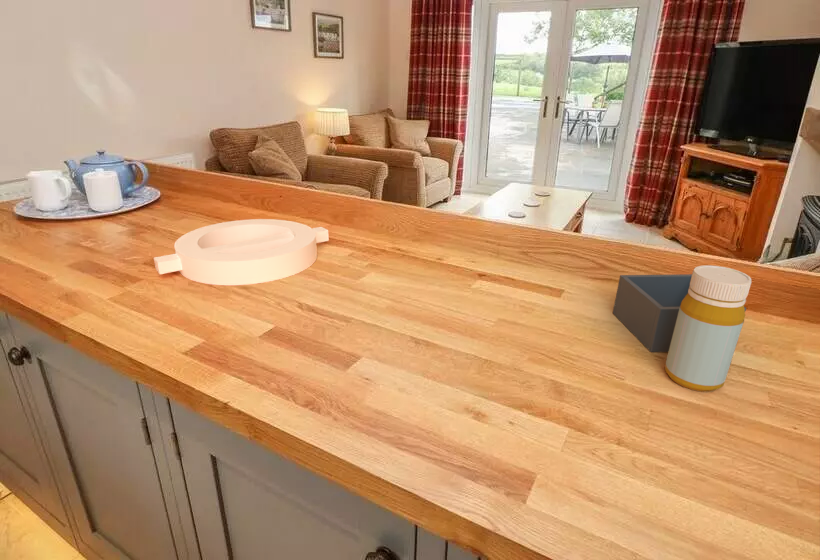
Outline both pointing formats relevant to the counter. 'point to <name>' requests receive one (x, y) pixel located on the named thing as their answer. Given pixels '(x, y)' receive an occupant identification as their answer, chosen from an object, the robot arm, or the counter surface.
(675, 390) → the counter surface
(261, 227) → the peach handled dish
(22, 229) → the counter surface
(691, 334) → the bottle
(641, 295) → the box
